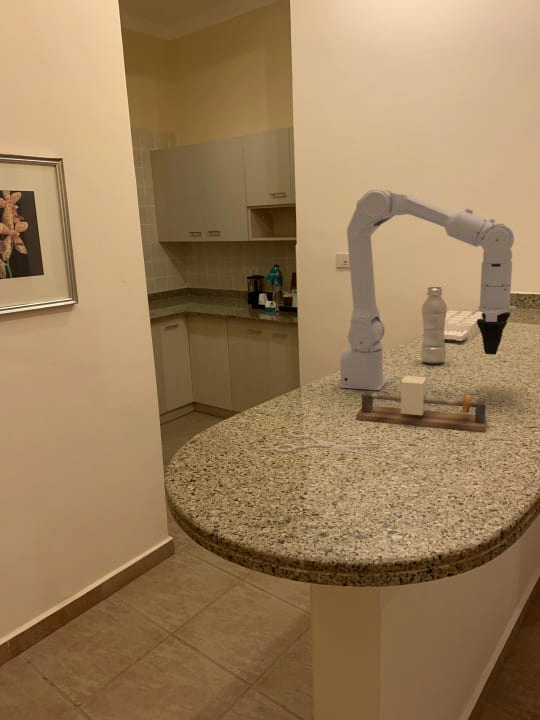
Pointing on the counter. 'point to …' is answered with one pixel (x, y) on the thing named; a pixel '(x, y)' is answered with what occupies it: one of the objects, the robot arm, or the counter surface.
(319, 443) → the scissors
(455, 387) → the counter surface
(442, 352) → the plastic bottle
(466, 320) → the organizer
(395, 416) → the rod base
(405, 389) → the tan wooden block
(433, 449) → the counter surface
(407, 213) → the robot arm
